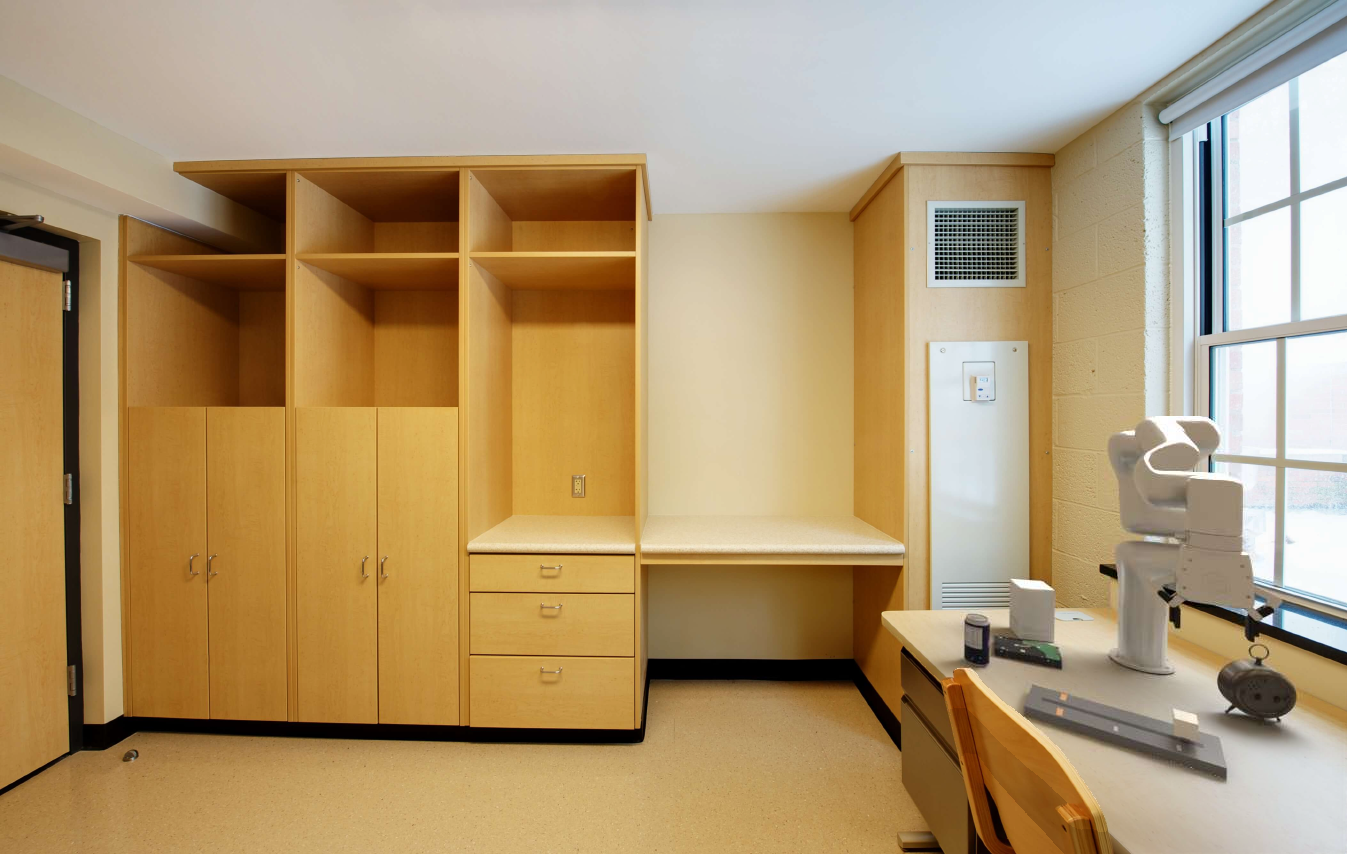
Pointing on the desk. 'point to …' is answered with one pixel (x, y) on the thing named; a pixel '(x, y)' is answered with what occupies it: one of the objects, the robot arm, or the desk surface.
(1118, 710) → the fader console
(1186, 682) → the desk surface
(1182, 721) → the fader knob
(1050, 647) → the disk drive
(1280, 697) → the alarm clock
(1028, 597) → the supplement box
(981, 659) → the beverage can
